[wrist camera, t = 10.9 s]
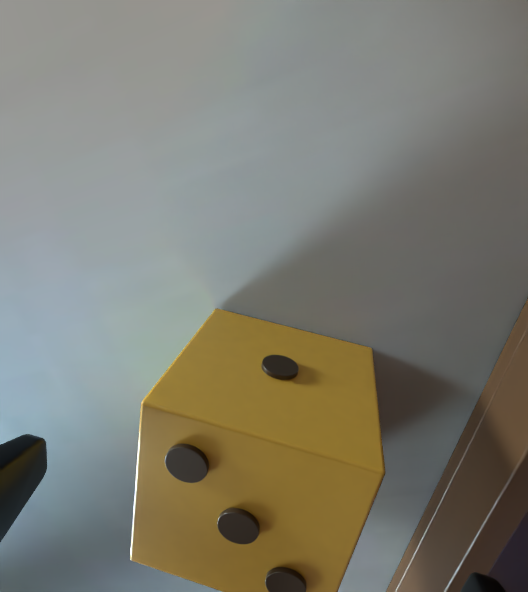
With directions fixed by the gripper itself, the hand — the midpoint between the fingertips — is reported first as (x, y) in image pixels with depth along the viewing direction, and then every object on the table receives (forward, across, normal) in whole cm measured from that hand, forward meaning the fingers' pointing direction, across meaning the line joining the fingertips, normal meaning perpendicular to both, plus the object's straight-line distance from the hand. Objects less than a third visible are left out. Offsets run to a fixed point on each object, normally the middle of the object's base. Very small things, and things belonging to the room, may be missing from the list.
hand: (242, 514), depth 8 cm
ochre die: (+4, 0, 0) cm, 4 cm away
